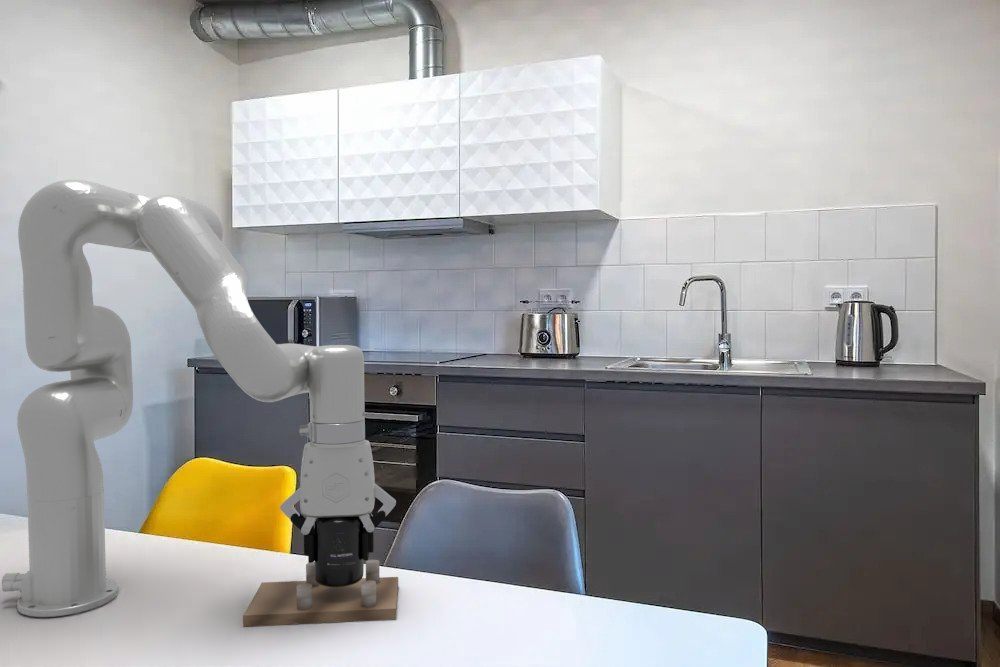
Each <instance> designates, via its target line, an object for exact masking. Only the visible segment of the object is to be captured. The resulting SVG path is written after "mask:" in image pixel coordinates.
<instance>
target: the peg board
mask: <svg viewBox="0 0 1000 667" xmlns="http://www.w3.org/2000/svg"><path fill="white" fill-rule="evenodd" d="M398 593H399V576H385V577H380V560H378V559H368V561H365V577H362V579H361V580H360V581H359V582H357V583H355V584H353V585H349V586H344V587H327V586H323V585H320V584H318V583H317V582H316V580H315V561H314V562H313V563H309V562H307V563H306V564H305V580H293V581H291V580H289V581H288V580H287V581H286V580H285V581H265V582H261V583H260V585H259V587H258V588H257V590H256V591H255V594H254V595H253V597H252V599H251V601H250V603H249V604H248V606H247V607H246V610H245V611H244V613H243V615H242V627H244V628H245V627H263V626H264V627H265V626H283V625H284V626H286V625H287V626H288V625H289V626H290V625H307V624H308V625H309V624H327V623H328V624H329V623H345V622H346V623H348V622H367V621H368V622H369V621H373V622H374V621H391V620H393V621H394V620H397V609H398V597H399V594H398Z"/></svg>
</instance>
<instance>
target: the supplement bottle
mask: <svg viewBox="0 0 1000 667" xmlns="http://www.w3.org/2000/svg"><path fill="white" fill-rule="evenodd" d="M314 528H315V560H314V562H315V580H316V582H317V583H318V584H320V585H323V586H327V587H344V586H349V585H353V584H355V583H357V582H359V581H360V580H361V579H362V578H364V564H365V563H364V562H365V561H364V560H363V546H362V533H363V531H364V525H363V523H362V521H361V519H360V517H359V516H352V517H323V518H316V520H315V522H314Z"/></svg>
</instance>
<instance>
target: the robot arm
mask: <svg viewBox="0 0 1000 667" xmlns="http://www.w3.org/2000/svg"><path fill="white" fill-rule="evenodd" d="M17 231H18V232H17V233H18V235H17V236H18V237H17V238H18V247H19V254H20V255H19V256H20V261H21V268H22V269H21V270H22V282H23V284H22V288H23V289H22V292H23V294H22V295H23V297H22V298H23V316H24V336H25V337H24V339H25V347H26V353H27V356H28V358H29V359H30V361H31V363H32V364H34V365H35V366H36V367H37V368H38V369H41V370H43V371H47V372H52V373H53V372H54V373H56V372H57V373H60V372H61V373H63V372H70V379H66V380H62V381H56V382H52V383H49V384H48V383H47V384H45V385H42V386H41V387H38V388H36V389H35V390H33V391H32V392H31V393H29V394H28V395H27V396H26V397H25V398H24V399H23V401H22V403H21V404H20V407H19V408H18V413H17V418H16V420H17V421H16V422H17V423H16V426H17V433H18V436H19V440H20V444H21V447H22V453H23V457H24V458H23V459H24V464H25V465H24V466H25V476H26V498H27V525H28V526H27V528H28V529H27V530H28V533H27V534H28V562H29V566H28V571H27V572H25V573H20V572H15V573H14V572H13V573H11V572H8V573H4V574H3V576H2V579H1V591H2V592H4V593H5V592H14V591H16V592H17V591H19V592H20V593H21V596H20V597H19V598H18V600H17V601H16V602H17V603H16V606H17V611H18V612H19V613H20V614H21V615H25V616H27V617H33V618H52V617H53V618H55V617H63V616H64V617H65V616H68V615H74V614H79V613H83V612H86V611H90V610H93V609H96V608H98V607H101V606H103V605H105V604H107V603H109V602H111V601H112V600H113V599H114V598H115V597H117V595H118V593H119V585H118V584H119V583H117V581H116V580H113V579H110V578H107V567H106V564H107V563H106V527H105V525H106V524H105V521H106V520H105V488H104V485H105V484H104V482H105V481H104V471H103V465H102V461H101V460H100V455H99V453H98V452H97V448H96V445H95V441H98V440H101V439H103V438H104V439H105V438H106V437H109V436H112V435H115V434H117V433H118V432H119V431H121V430H122V429H124V427H125V426H126V425H127V424H128V422H129V420H130V418H131V415H132V412H133V406H134V405H133V404H134V389H133V388H134V386H133V384H134V383H133V365H132V362H133V361H132V344H131V337H130V332H129V330H128V327H127V325H126V323H125V321H124V320H123V318H122V317H121V316H120V315H119V314H117V313H116V312H115V311H114V310H112V309H111V308H108V307H104V306H101V305H95V304H94V297H93V296H94V295H93V276H92V272H91V268H90V265H89V263H88V260H87V258H86V255H85V253H84V250H83V246H84V245H87V244H93V245H99V246H100V245H101V246H107V247H112V248H120V249H126V250H127V249H128V250H132V251H133V250H134V251H140V252H145V253H146V252H147V253H151V255H153V256H154V258H155V259H156V261H157V262H158V263H159V264H160V266H161V267H162V269H163V270H164V271H165V272H166V273H167V274H168V275H169V277H170V278H171V279H172V281H173V282H174V283H175V284H176V286H177V287H178V288H179V290H180V292H181V293H182V294H183V296H185V298H186V299H187V301H189V303H190V304H191V306H192V307H193V308H194V311H195V313H196V317H197V321H198V324H199V327H200V329H201V331H202V334H203V336H204V339H205V341H206V343H207V346H208V348H209V350H210V351H211V353H212V354H213V355H214V357H215V358H216V360H217V361H218V362H219V364H220V366H222V368H223V369H224V370H225V371H226V372H227V374H228V375H229V376H230V378H231V379H232V380H233V381H234V382H235V384H236V385H237V386H238V387H239V388H240V389H241V390H242V391H243V392H244V393H245V394H246V395H248V396H249V397H251V398H252V399H254V400H256V401H259V402H262V403H274V402H278V401H281V400H284V399H287V398H289V397H293V396H297V395H300V394H307V393H309V423H307V424H304V425H299V428H298V430H299V431H298V432H299V436H305V437H307V438H308V439H309V442H306V443H305V444H304V447H303V451H302V458H301V468H300V484H299V486H300V487H299V488H298V489H296V490H295V491H294V492H293V493H292V494H291V495H290V496H288V497H287V498H286V499H285V500H284V501H283V502H282V503H281V504H280V506H279V509H280V511H281V512H282V513H283V514H284V515H285V516H286V518H288V519H289V520H290V522H291V523H292V524H293V525H294V526H295V527H296V528H298V530H300V532H301V534H302V535H303V555H304V556H307V557H308V559H307V560H308V562H307V563H313V562H315V521H316V519H317V518H323V517H352V516H359V517H360V519H361V521H362V523H363V525H364V531H363V533H362V546H363V560H364V562H366V561H368V560H369V557H370V553H374V549H375V548H374V546H375V544H374V543H375V542H374V541H375V540H374V536H375V534H374V531H375V529H377V527H378V526H379V525H380V524H381V523H382V522H383V521H384V520H385V518H386V517H387V516H388V515H389V513H391V511H392V510H393V509H394V508H395V506H396V504H397V500H396V499H395V498H394V497H393V496H391V495H390V494H389V493H388V492H387V491H385V490H384V489H383V488H382V487H381V486H379V485H378V484H377V483H376V480H375V467H374V460H373V459H374V458H373V453H372V452H373V451H372V447H371V443H370V441H369V440H367V439H366V424H365V422H366V420H365V418H366V416H365V414H366V412H365V356H364V353H363V350H362V349H361V348H360V347H359V346H357V345H351V344H329V345H319V346H317V345H316V346H315V345H308V344H307V345H306V344H300V343H292V342H291V343H289V342H288V343H276V342H275V340H274V339H273V338H272V337H271V335H270V334H269V333H268V332H267V330H266V329H265V328H264V327H263V326H262V324H261V323H260V321H259V320H258V318H257V317H256V315H255V314H254V312H253V310H252V308H251V306H250V303H249V300H248V285H249V277H248V274H247V273H246V272H247V271H245V269H244V267H242V266H241V264H240V263H239V262H238V261H237V260H236V258H235V257H234V256H233V254H232V253H231V252H230V251H229V250H228V248H227V246H225V244H224V243H223V236H224V230H223V224H222V222H221V220H220V218H219V216H218V215H217V214H216V213H215V211H214V210H213V209H212V208H210V207H208V206H207V205H205V204H204V203H201V202H198V201H194V200H191V199H189V198H186V197H185V198H184V197H183V196H182V197H181V196H178V195H171V194H167V195H159V196H148V195H142V194H136V193H131V192H128V191H124V190H121V189H117V188H112V187H110V186H106V185H104V184H101V183H96V182H92V181H88V180H83V179H82V180H81V179H63V180H59V181H55V182H52V183H50V184H48V185H45V186H44V187H42V188H40V189H39V190H38V191H36V192H34V194H33V195H32V196H31V197H30V198H29V199H28V201H27V202H26V204H25V205H24V207H23V209H22V211H21V214H20V217H19V222H18V230H17ZM376 499H377V500H379V501H380V502H381V503H382V506H381V507H380V508H379V509H378V510H377V511H376V512H375V513H374V515H373V514H372V512H373V510H374V509H375V501H376ZM298 502H299V508H300V509H299V510H300V512H299V511H298V510H297V509H296V508H295V505H296V504H297V503H298Z"/></svg>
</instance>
